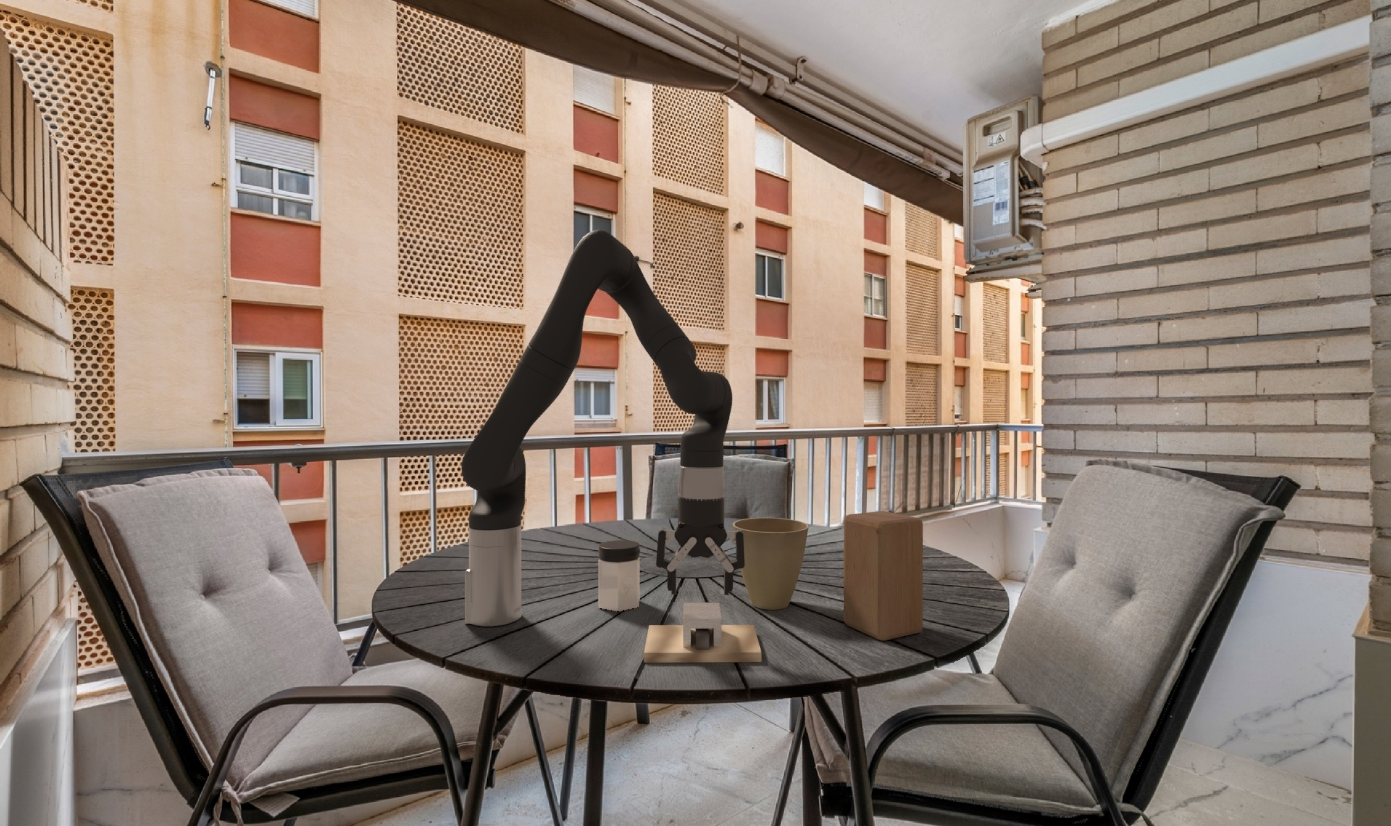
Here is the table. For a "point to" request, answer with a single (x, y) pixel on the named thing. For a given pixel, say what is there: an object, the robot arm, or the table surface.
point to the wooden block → (883, 574)
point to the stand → (702, 645)
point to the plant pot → (772, 559)
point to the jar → (618, 575)
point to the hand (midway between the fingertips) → (699, 593)
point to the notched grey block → (701, 621)
